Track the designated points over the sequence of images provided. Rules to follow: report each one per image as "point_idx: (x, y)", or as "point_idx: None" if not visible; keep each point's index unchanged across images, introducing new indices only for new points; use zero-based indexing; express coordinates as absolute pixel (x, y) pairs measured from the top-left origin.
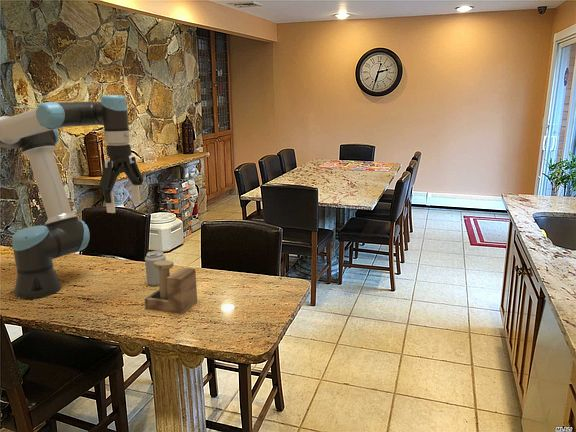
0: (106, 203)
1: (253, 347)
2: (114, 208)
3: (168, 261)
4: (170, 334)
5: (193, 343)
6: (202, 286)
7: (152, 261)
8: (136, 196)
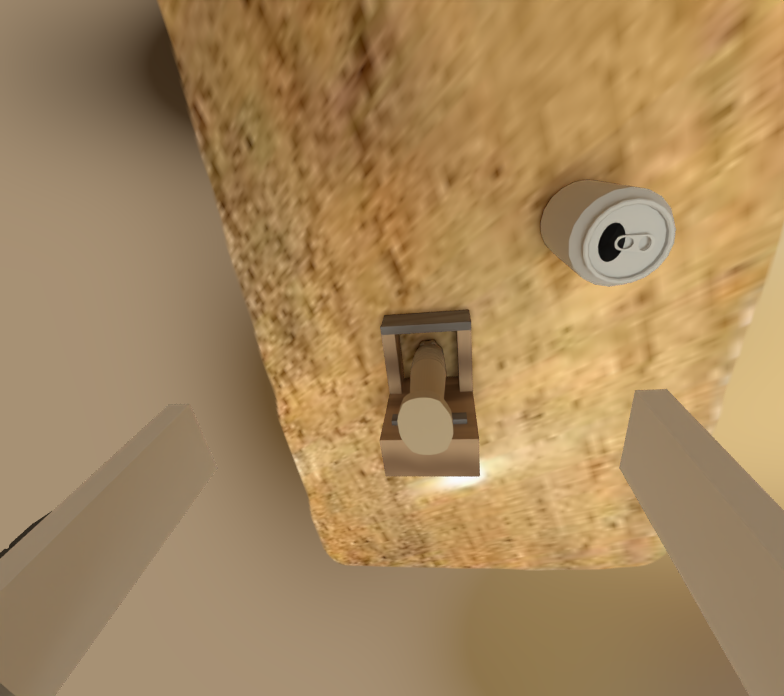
0: (93, 482)
1: (342, 549)
2: (185, 501)
3: (443, 434)
4: (311, 431)
5: (306, 477)
6: (576, 373)
7: (569, 256)
8: (675, 526)
